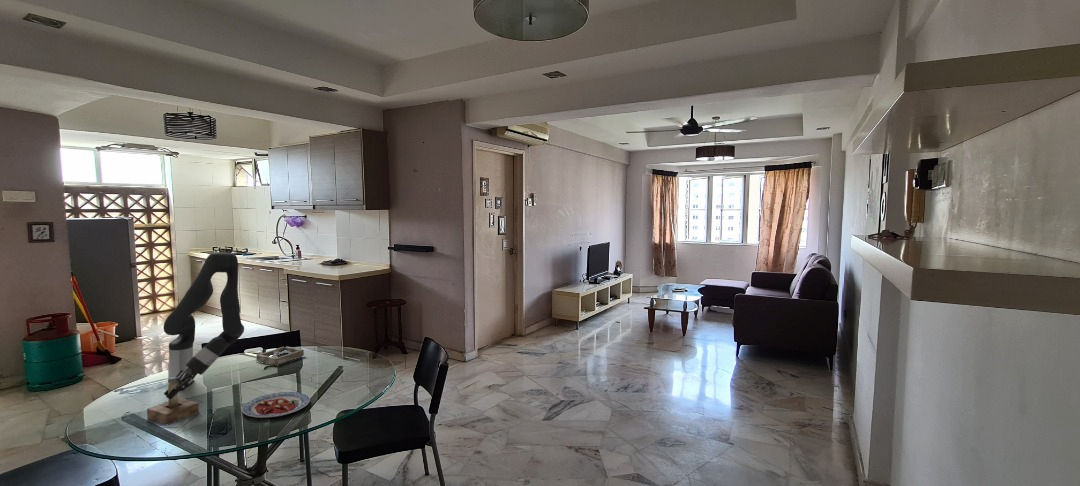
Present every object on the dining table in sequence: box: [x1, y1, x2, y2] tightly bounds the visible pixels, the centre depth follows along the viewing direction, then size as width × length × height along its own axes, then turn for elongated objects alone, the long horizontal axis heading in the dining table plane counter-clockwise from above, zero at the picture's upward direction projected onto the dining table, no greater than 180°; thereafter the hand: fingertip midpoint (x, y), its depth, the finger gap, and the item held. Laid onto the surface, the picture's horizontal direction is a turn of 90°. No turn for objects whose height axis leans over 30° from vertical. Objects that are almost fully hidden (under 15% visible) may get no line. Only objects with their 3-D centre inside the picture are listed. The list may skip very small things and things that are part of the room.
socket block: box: [146, 397, 200, 425], centre depth 189 cm, size 12×12×4 cm
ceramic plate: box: [241, 391, 311, 418], centre depth 201 cm, size 26×26×3 cm
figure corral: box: [256, 346, 305, 367], centre depth 261 cm, size 14×18×4 cm
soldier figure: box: [272, 350, 279, 358], centre depth 259 cm, size 8×5×12 cm
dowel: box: [167, 377, 179, 409], centre depth 189 cm, size 3×3×12 cm
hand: (167, 396), depth 187 cm, fingers closed on dowel, 3 cm apart
